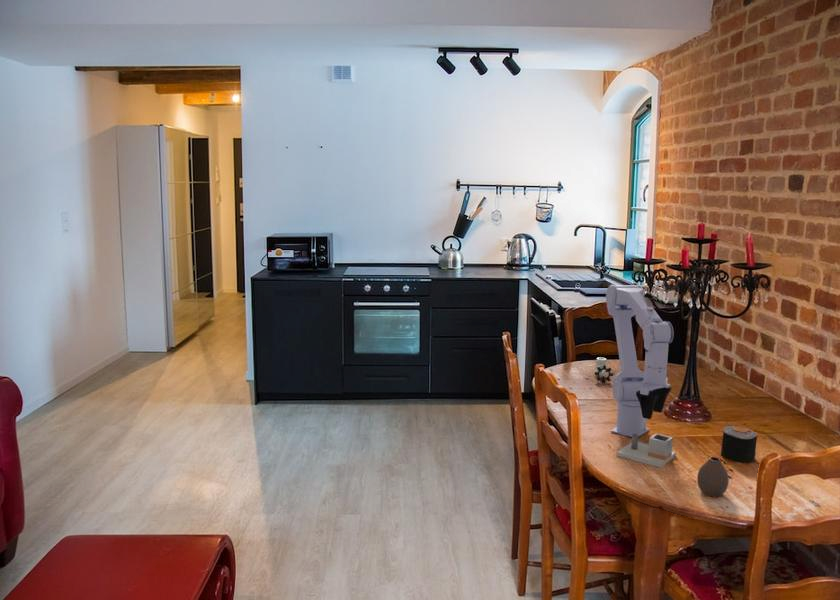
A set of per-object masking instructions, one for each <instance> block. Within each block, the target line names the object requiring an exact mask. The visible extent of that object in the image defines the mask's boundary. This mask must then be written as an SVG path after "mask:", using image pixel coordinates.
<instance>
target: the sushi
mask: <svg viewBox="0 0 840 600" xmlns="http://www.w3.org/2000/svg"><path fill="white" fill-rule="evenodd" d="M724 427H725V428H722V431H723V432H722V440H721V451H720V456H721V457H723V459H724V458H725V459H726V460H729V461H733V462H735V463H740V464H750V463H753V461H755V459H756V449H757V440H758V432H757V431H756V432H755V431H754V430H753V429H750V428H747V427H742V426H735V425H729V426H724Z"/></svg>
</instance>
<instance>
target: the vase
mask: <svg viewBox="0 0 840 600" xmlns="http://www.w3.org/2000/svg"><path fill="white" fill-rule="evenodd" d="M696 479H697V485H698V488H699V490H700V491H701V492H702V493H703V494H704V495H705V496H708V497H712V498H713V497H714V498H716V497H717V498H718V497H720V496H723V494H725V493H726V492H727V489H728V487H729V483H730V481H729V480H730V477H729V473H728V471H727V469H726V467H725V465H724V464H723V463H722V460H721V459H720V458H719V457H716V456H710V457H709V458H708V460H707V461H706V462H705V463H703V464H702V465H701V467H699V470H698V472H697V478H696Z"/></svg>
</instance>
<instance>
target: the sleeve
mask: <svg viewBox="0 0 840 600" xmlns="http://www.w3.org/2000/svg"><path fill="white" fill-rule="evenodd" d="M648 439H649V441H648V445H649V450H648V456H651V457H654V458H658V459H662V460H666V459H667V458H669V457H670V456H671V455H672V451H673V444H674V443H673V441H674V437H671V436H668V435H665V434H664V435H663V434H660V433H657V432H656V433H655V434H653V435H651V436H650V437H649V438H648Z"/></svg>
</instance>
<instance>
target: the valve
mask: <svg viewBox="0 0 840 600" xmlns="http://www.w3.org/2000/svg"><path fill="white" fill-rule="evenodd" d="M607 366H608V365H607V358H605V357H597V358H596V364H595V372H594V375H595V376H597V377H596V381H600V380H601V383H602V384H604V383H605V384H606V381H607V382H610V381H612V379H611V377H614V373H613V372H611V371H612V368H611V367H610V366H609V367H607ZM607 373H608V375H607Z"/></svg>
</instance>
